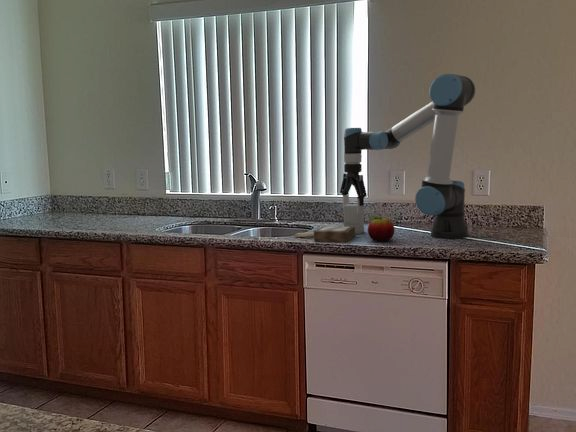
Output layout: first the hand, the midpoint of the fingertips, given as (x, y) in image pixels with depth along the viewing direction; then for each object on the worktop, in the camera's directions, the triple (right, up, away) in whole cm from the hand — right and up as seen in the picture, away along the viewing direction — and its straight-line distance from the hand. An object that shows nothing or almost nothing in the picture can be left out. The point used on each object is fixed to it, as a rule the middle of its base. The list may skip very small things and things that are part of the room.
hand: (352, 211), depth 245 cm
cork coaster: (-21, -11, -4) cm, 24 cm away
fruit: (+9, -12, -20) cm, 25 cm away
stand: (-9, -12, -12) cm, 19 cm away
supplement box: (+1, -10, +1) cm, 10 cm away
